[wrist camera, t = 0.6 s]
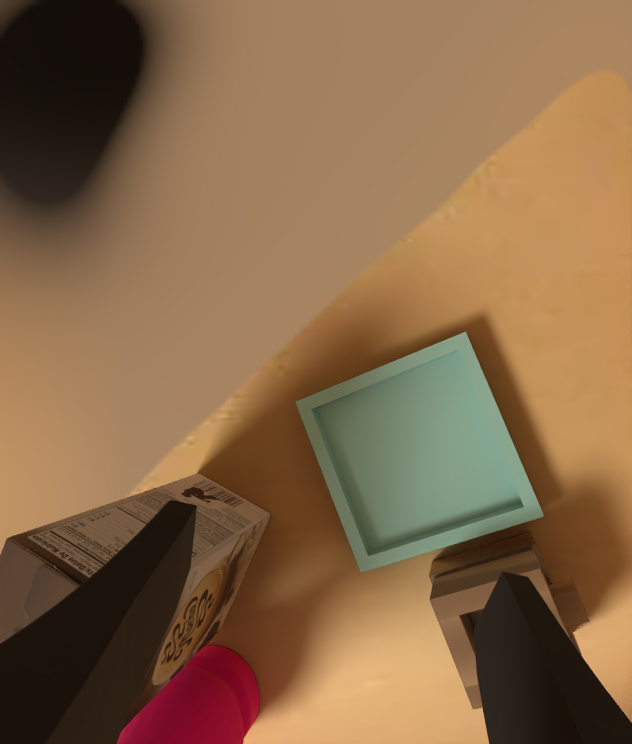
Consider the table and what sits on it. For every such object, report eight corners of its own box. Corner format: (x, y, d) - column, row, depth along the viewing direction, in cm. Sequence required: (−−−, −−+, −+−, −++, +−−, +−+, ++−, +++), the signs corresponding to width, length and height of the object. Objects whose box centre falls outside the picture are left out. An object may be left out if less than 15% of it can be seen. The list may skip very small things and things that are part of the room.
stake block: (573, 632, 31) (596, 693, 25) (471, 658, 32) (470, 721, 27) (530, 531, 32) (543, 567, 26) (432, 561, 33) (423, 601, 27)
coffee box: (224, 632, 37) (43, 820, 21) (148, 583, 38) (-72, 725, 23) (276, 512, 36) (126, 618, 20) (195, 468, 37) (0, 535, 22)
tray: (540, 509, 31) (544, 516, 30) (365, 564, 34) (360, 573, 33) (465, 333, 33) (465, 331, 31) (302, 400, 35) (295, 401, 34)
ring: (599, 646, 28) (614, 677, 25) (473, 677, 30) (472, 709, 27) (555, 542, 29) (564, 561, 26) (433, 578, 31) (429, 599, 28)
